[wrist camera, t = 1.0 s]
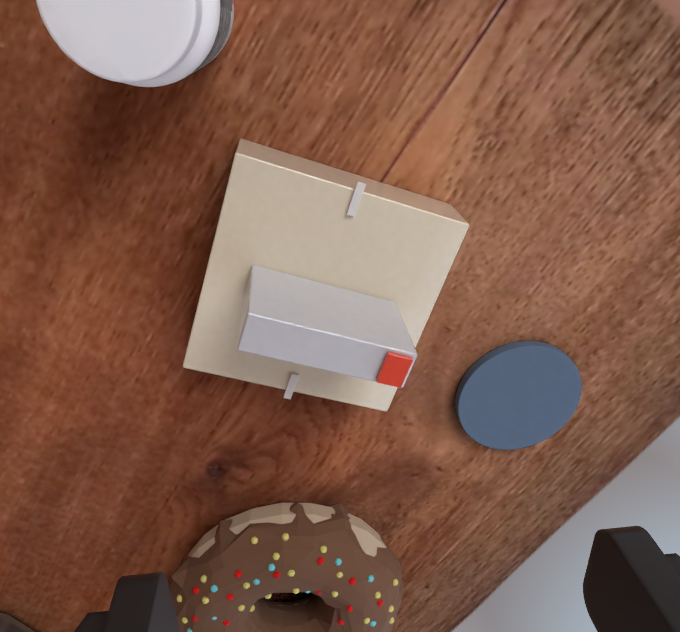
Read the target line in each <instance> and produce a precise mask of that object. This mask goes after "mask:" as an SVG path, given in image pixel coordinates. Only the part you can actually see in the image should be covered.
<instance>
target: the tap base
mask: <svg viewBox="0 0 680 632" xmlns="http://www.w3.org/2000/svg"><path fill="white" fill-rule="evenodd" d="M468 227H469V224H468V223H467V222H466V221H465V219H464V218H463V217H462V216H461V215H460V214H459V213H458V212H457V211H456V210H455V209H454V208H453V207H452V205H451V204H448V203H445V202H442V201H439V200H435V199H432V198H429V197H426V196H423V195H419V194H416V193H413V192H410V191H407V190H404V189H400V188H397V187H394V186H391V185H388V184H384V183H381V182H378V181H375V180H372V179H368V178H365V177H362V176H359V175H356V174H353V173H349V172H346V171H343V170H340V169H337V168H333V167H330V166H327V165H324V164H321V163H318V162H314V161H311V160H308V159H305V158H302V157H298V156H295V155H292V154H289V153H286V152H282V151H279V150H276V149H273V148H270V147H267V146H263V145H260V144H257V143H254V142H251V141H247V140H244V139H239V142H238V145H237V149H236V152H235V156H234V160H233V164H232V168H231V172H230V176H229V180H228V184H227V188H226V192H225V196H224V200H223V204H222V208H221V212H220V216H219V220H218V224H217V228H216V232H215V237H214V241H213V245H212V249H211V253H210V257H209V261H208V265H207V269H206V273H205V277H204V281H203V285H202V289H201V293H200V297H199V301H198V305H197V309H196V313H195V317H194V321H193V326H192V330H191V334H190V338H189V342H188V346H187V350H186V354H185V358H184V362H183V368H188V369H192V370H197V371H201V372H206V373H211V374H215V375H220V376H224V377H229V378H234V379H238V380H243V381H248V382H252V383H257V384H261V385H266V386H271V387H275V388H280V389H284V390H285V393H284V395H283V398H285V399H291V397H292V394H293V391H294V392H298V393H303V394H308V395H312V396H317V397H321V398H326V399H331V400H335V401H340V402H344V403H349V404H354V405H358V406H363V407H368V408H372V409H377V410H381V411H387V410H388V408H389V406H390V403H391V401H392V399H393V397H394V394H395V392H396V390H397V388H398V387H394V386H390V385H385V384H381V383H377V382H374V381H370V380H366V379H361V378H357V377H352V376H348V375H344V374H339V373H335V372H331V371H326V370H322V369H317V368H313V367H309V366H304V365H300V364H296V363H291V362H287V361H282V360H278V359H274V358H269V357H265V356H260V355H256V354H252V353H247V352H243V351H239V350H238V349H237V345H238V337H239V328H240V320H241V312H242V303H243V296H244V292H245V289H246V285H247V281H248V278H249V274H250V271H251V267H252V266H253V265H256V266H260V267H264V268H268V269H271V270H275V271H279V272H283V273H287V274H290V275H294V276H298V277H302V278H306V279H309V280H313V281H317V282H321V283H324V284H328V285H332V286H336V287H340V288H343V289H347V290H351V291H355V292H358V293H362V294H366V295H370V296H374V297H377V298H381V299H385V300H389V301H392V302H395V303H396V304H397V307H398V309H399V311H400V314H401V316H402V318H403V321H404V323H405V326H406V328H407V330H408V333H409V335H410V338H411V340H412V342H413V345H414V347H416V345H417V342H418V340H419V338H420V336H421V333H422V331H423V329H424V327H425V324H426V322H427V320H428V317H429V315H430V313H431V311H432V308H433V306H434V304H435V302H436V299H437V297H438V295H439V293H440V290H441V288H442V286H443V284H444V281H445V279H446V277H447V275H448V272H449V270H450V268H451V265H452V263H453V261H454V259H455V256H456V254H457V252H458V250H459V247H460V245H461V243H462V241H463V238H464V236H465V234H466V232H467V229H468Z"/></svg>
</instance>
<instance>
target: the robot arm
mask: <svg viewBox="0 0 680 632" xmlns="http://www.w3.org/2000/svg"><path fill="white" fill-rule="evenodd" d="M583 594H584V600H585V604H586V607H587V610H588V613H589V616H590V618H591V620H592V622H593V624H594V625H595V627H596V629H597V631H598V632H680V556H678V555H677V554H676V553H674V554H663V552H662V551H661V549H660V548H659V547H658V545H657V544H656V542H655V541H654V540H653V538H652V537H651V536H650V534H649V533H648V532H647V531H646V530H645V529H644V528H642V527H640V526H631V527H621V528H611V529H602V530H598V531H597V532H596V534H595V537H594V541H593V546H592V549H591V553H590V558H589V561H588V566H587V569H586V573H585V578H584V582H583ZM74 632H179V624H178V620H177V616H176V612H175V608H174V604H173V600H172V595H171V591H170V587H169V583H168V579H167V576H166V574H165V573H164V572H159V573H149V574H139V575H129V576H122V577H121V578H120V579H119V580H118V582H117V585H116V588H115V591H114V595H113V598H112V602H111V605H110V609H109V611H104V612H95V613H88V614H87V615H86V616H85V618H84V619H83V621H82V622H81V623H80V625H79V626H78V627H77V629H76V630H75V631H74Z"/></svg>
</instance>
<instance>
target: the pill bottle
mask: <svg viewBox="0 0 680 632" xmlns="http://www.w3.org/2000/svg"><path fill="white" fill-rule="evenodd" d="M36 2H37V6H38V10H39V12H40V15H41V18H42V20H43V22H44V25H45V26H46V28H47V30H48V32H49V33H50V35H51V37H52V38H53V39H54V41H55V42H56V44H57V45H58V46H59V47H60V49H61V50H62V51H63V52H64V53H65V54H66V55H67V56H68V57H69V58H70V59H71V60H73V61H74V62H75V63H76V64H78V65H79V66H80V67H82V68H83V69H85V70H87V71H88V72H90V73H92V74H94V75H96V76H99V77H101V78H104V79H107V80H110V81H115V82H122V83H125V84H129V85H133V86H140V87H158V86H165V85H169V84H172V83H175V82H178V81H180V80H182V79H184V78H186V77H187V76H189V75H190V74H192V73H194V72H196V71H197V70H199V69H200V68H202V67H204V66H205V65H207V64H208V63H210V62H211V61H212V60H213V59H214V58H215V57H216V56H217V55H218V54H219V53H220V52H221V50H222V49H223V48H224V46H225V44H226V43H227V40H228V38H229V36H230V33H231V29H232V25H233V19H234V3H233V0H36Z"/></svg>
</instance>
